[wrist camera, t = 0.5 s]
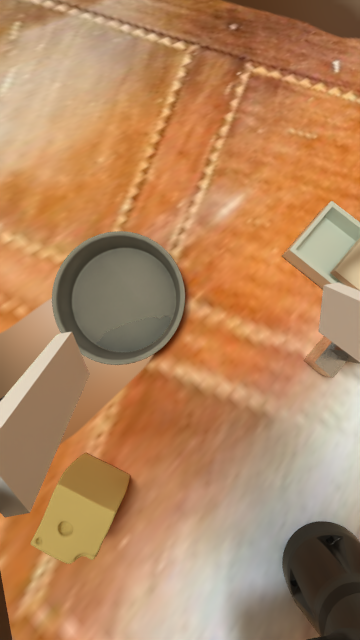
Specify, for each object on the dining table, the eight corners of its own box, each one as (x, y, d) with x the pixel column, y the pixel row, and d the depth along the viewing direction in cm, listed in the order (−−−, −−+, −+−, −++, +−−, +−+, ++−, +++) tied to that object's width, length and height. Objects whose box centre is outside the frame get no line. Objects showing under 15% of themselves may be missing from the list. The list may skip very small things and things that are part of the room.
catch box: (369, 249, 45) (385, 241, 42) (330, 295, 45) (342, 292, 41) (320, 210, 46) (331, 200, 42) (281, 256, 46) (289, 249, 42)
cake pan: (46, 336, 47) (30, 336, 42) (90, 224, 48) (80, 213, 43) (159, 380, 45) (156, 385, 41) (202, 264, 46) (204, 256, 42)
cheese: (111, 524, 44) (88, 580, 34) (60, 498, 44) (23, 546, 34) (134, 472, 44) (118, 513, 34) (84, 447, 45) (54, 480, 35)
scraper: (353, 334, 44) (414, 334, 32) (319, 374, 44) (368, 388, 32) (336, 320, 45) (390, 315, 33) (303, 360, 44) (345, 369, 32)
